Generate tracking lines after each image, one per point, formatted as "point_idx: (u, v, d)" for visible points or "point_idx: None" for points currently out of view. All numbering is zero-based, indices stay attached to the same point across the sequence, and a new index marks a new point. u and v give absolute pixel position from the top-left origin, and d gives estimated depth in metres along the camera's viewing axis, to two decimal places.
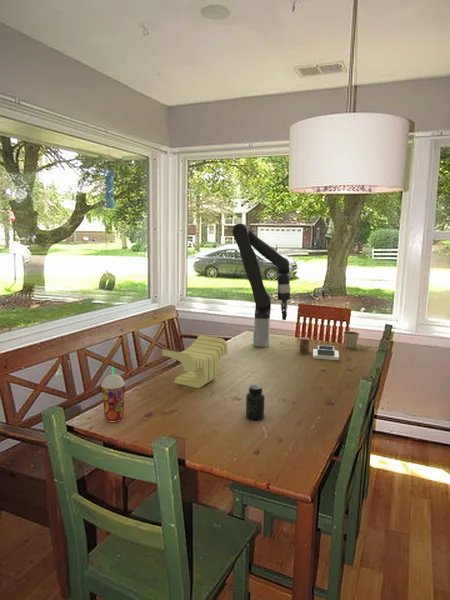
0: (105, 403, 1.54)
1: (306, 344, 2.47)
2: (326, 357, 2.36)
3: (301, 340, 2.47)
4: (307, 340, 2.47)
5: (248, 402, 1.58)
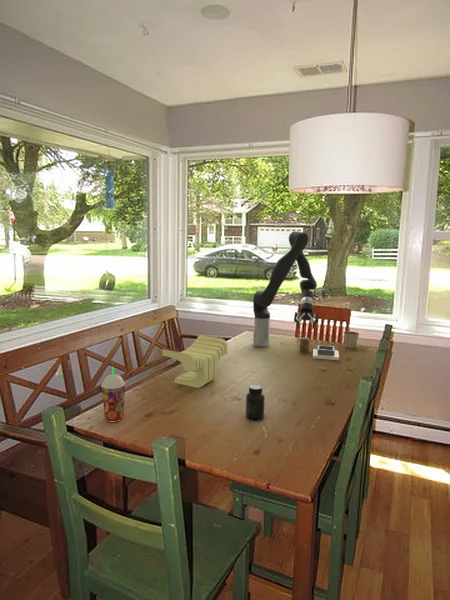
0: (105, 403, 1.54)
1: (306, 344, 2.47)
2: (326, 357, 2.36)
3: (301, 340, 2.47)
4: (307, 340, 2.47)
5: (248, 402, 1.58)
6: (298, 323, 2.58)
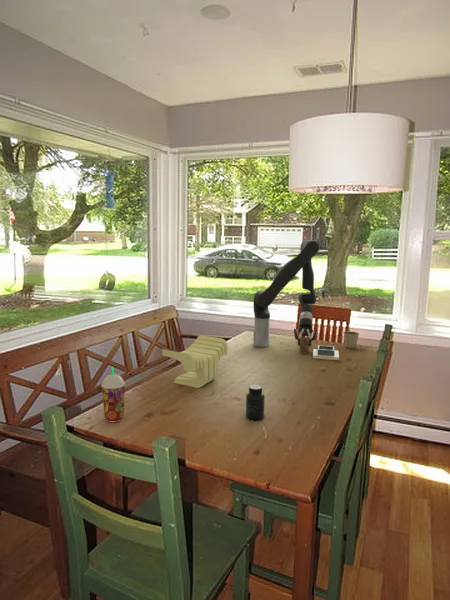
0: (105, 403, 1.54)
1: (306, 344, 2.47)
2: (326, 357, 2.36)
3: (301, 340, 2.47)
4: (307, 340, 2.47)
5: (248, 402, 1.58)
6: (299, 340, 2.49)
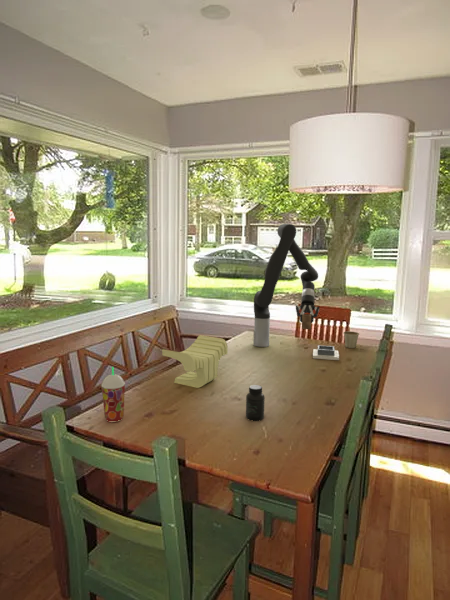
0: (105, 403, 1.54)
1: (308, 320, 2.45)
2: (326, 357, 2.36)
3: (303, 316, 2.45)
4: (309, 316, 2.44)
5: (248, 402, 1.58)
6: (301, 317, 2.46)
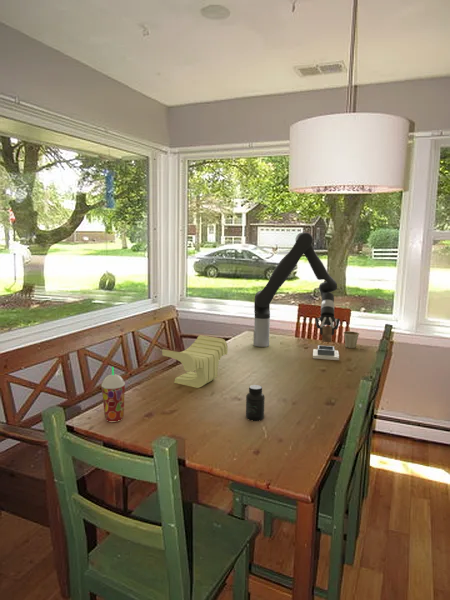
0: (105, 403, 1.54)
1: (329, 333, 2.38)
2: (326, 357, 2.36)
3: (323, 329, 2.39)
4: (329, 329, 2.38)
5: (248, 402, 1.58)
6: (322, 329, 2.40)
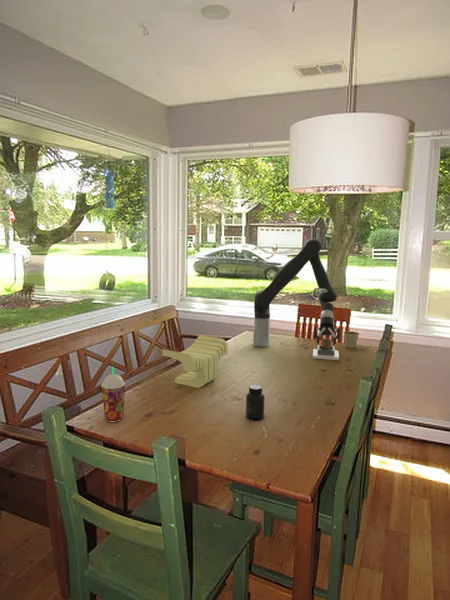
0: (105, 403, 1.54)
1: (328, 345, 2.40)
2: (326, 357, 2.36)
3: (323, 341, 2.40)
4: (329, 341, 2.39)
5: (248, 402, 1.58)
6: (318, 338, 2.42)
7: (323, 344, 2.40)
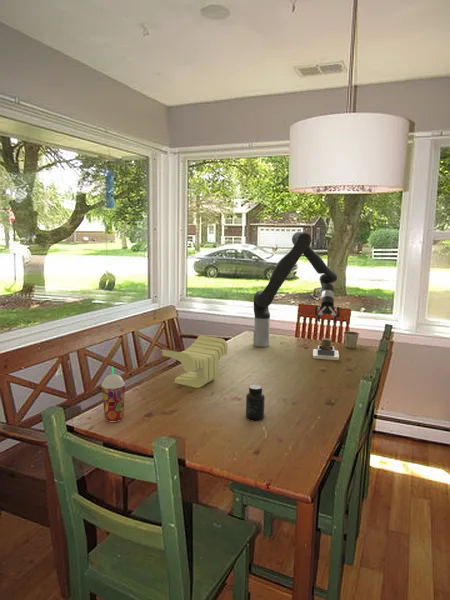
0: (105, 403, 1.54)
1: (328, 345, 2.40)
2: (326, 357, 2.36)
3: (323, 341, 2.40)
4: (329, 341, 2.39)
5: (248, 402, 1.58)
6: (319, 317, 2.53)
7: (323, 344, 2.40)
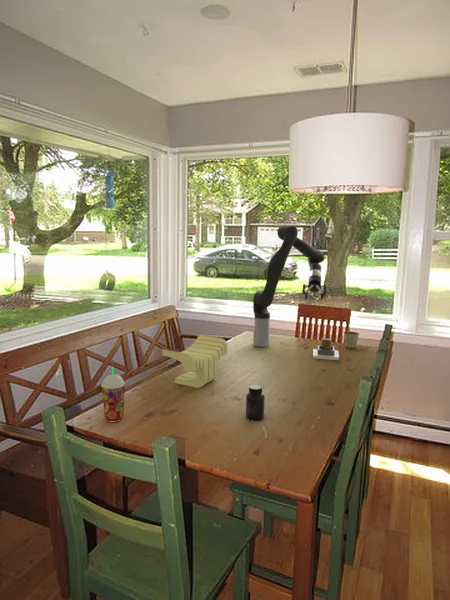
0: (105, 403, 1.54)
1: (328, 345, 2.40)
2: (326, 357, 2.36)
3: (323, 341, 2.40)
4: (329, 341, 2.39)
5: (248, 402, 1.58)
6: (306, 294, 2.60)
7: (323, 344, 2.40)
